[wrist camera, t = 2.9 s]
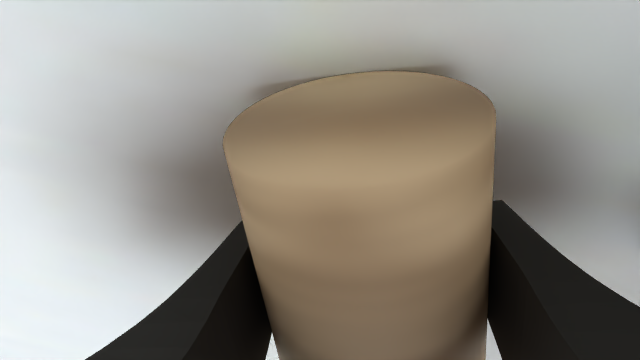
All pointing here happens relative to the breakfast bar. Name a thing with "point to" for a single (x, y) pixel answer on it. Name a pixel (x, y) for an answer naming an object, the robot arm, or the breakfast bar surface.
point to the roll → (369, 214)
